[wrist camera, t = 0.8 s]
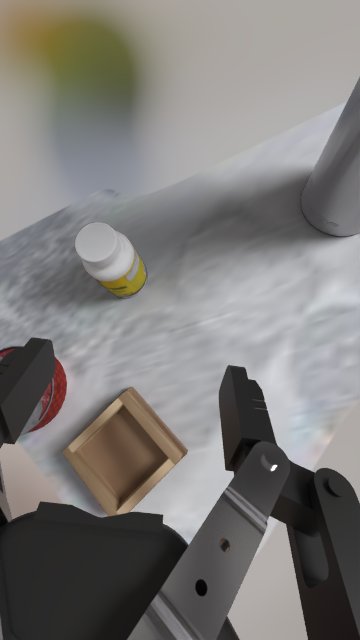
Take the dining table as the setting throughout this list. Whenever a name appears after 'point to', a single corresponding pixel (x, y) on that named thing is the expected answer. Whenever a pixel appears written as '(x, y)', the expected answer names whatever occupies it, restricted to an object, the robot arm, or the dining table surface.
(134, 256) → the supplement bottle
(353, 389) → the dining table surface
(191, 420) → the dining table surface
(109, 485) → the wooden box
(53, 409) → the canned food
